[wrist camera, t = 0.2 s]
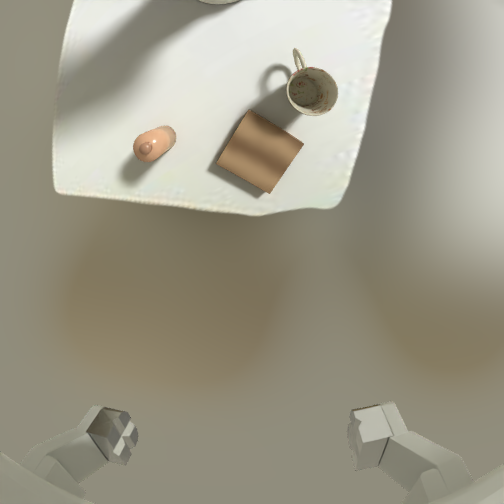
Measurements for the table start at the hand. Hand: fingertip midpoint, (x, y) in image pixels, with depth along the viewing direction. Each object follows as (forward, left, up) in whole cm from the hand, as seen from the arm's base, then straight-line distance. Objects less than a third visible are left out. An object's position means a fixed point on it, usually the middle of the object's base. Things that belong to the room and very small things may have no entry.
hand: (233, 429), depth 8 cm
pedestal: (0, +2, -52) cm, 52 cm away
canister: (+7, -16, -52) cm, 54 cm away
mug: (-16, +1, -52) cm, 54 cm away
